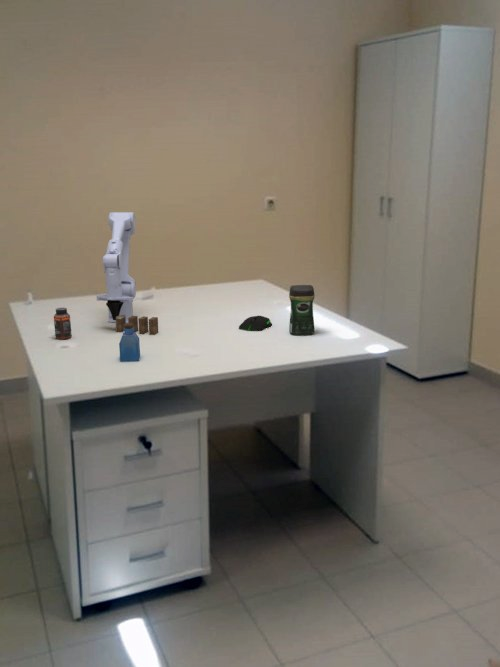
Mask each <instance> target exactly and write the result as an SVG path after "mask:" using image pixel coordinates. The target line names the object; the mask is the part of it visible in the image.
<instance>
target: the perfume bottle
mask: <svg viewBox="0 0 500 667" xmlns="http://www.w3.org/2000/svg"><path fill="white" fill-rule="evenodd" d="M123 329H124V331H123V332H122V335H121V338H120V340H119V343H118V344H119V346H118V347H119V362H121V363H122V362H125V363H127V362H140V358H141V346H140V337H139V336H138V335H137V332H133V331H134V327H133V324H132V323H126V324H124V328H123Z"/></svg>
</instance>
